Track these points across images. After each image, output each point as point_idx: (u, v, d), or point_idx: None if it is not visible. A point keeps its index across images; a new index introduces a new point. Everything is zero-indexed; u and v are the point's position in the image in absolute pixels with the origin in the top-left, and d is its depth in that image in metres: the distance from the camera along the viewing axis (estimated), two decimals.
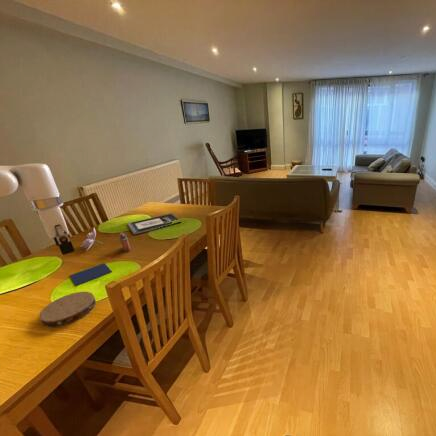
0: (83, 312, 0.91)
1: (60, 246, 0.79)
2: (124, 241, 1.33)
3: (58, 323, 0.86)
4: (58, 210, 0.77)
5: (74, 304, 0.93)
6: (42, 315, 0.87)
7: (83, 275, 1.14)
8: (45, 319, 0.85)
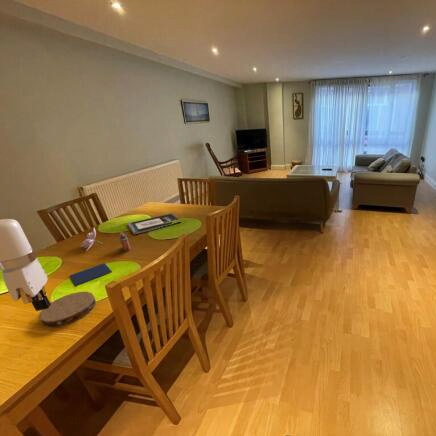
0: (83, 312, 0.91)
1: (33, 303, 0.76)
2: (124, 241, 1.33)
3: (58, 323, 0.86)
4: (21, 272, 0.69)
5: (74, 304, 0.93)
6: (42, 315, 0.87)
7: (83, 275, 1.14)
8: (45, 319, 0.85)
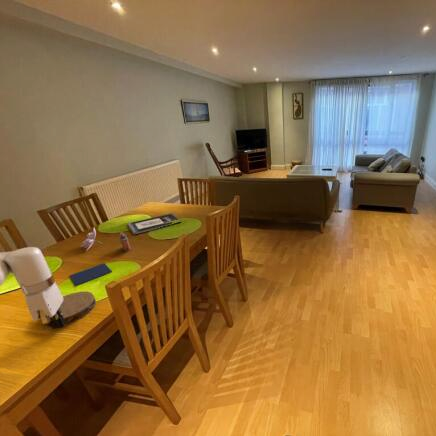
0: (83, 312, 0.91)
1: (50, 322, 0.83)
2: (124, 241, 1.33)
3: None
4: (41, 296, 0.76)
5: (74, 303, 0.93)
6: None
7: (83, 275, 1.14)
8: None
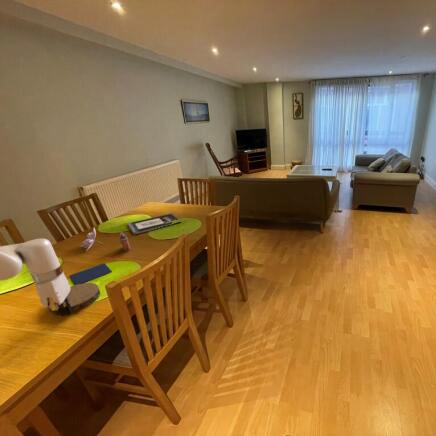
0: (89, 301, 0.96)
1: (58, 309, 0.88)
2: (124, 241, 1.33)
3: None
4: (51, 284, 0.81)
5: (80, 293, 0.98)
6: None
7: (83, 275, 1.14)
8: None
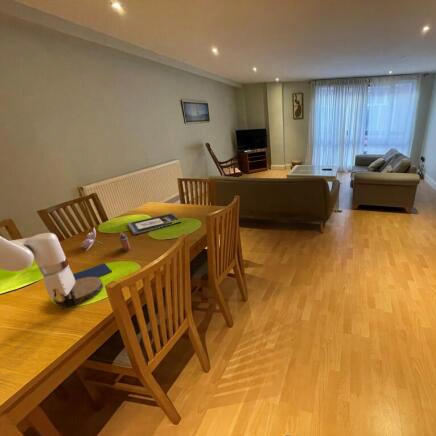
0: (93, 293, 1.00)
1: (64, 301, 0.92)
2: (124, 241, 1.33)
3: None
4: (57, 276, 0.85)
5: (84, 286, 1.02)
6: None
7: (83, 275, 1.14)
8: None
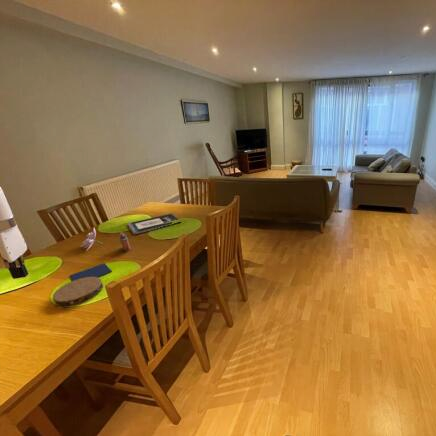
0: (93, 293, 1.00)
1: (10, 270, 0.76)
2: (124, 241, 1.33)
3: (70, 303, 0.95)
4: None
5: (83, 286, 1.02)
6: (55, 296, 0.97)
7: (83, 275, 1.14)
8: (59, 300, 0.95)
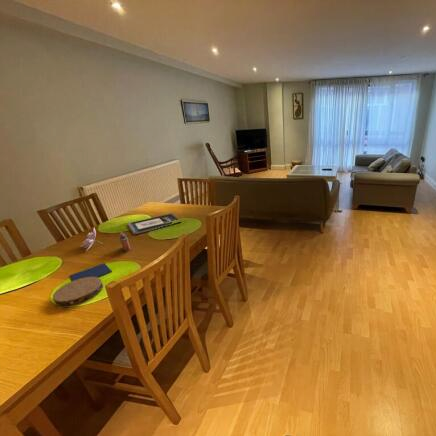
0: (93, 293, 1.00)
1: None
2: (124, 241, 1.33)
3: (70, 303, 0.95)
4: None
5: (83, 286, 1.02)
6: (55, 296, 0.97)
7: (83, 275, 1.14)
8: (59, 300, 0.95)
